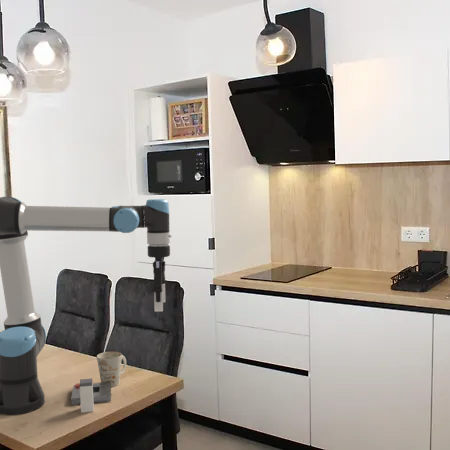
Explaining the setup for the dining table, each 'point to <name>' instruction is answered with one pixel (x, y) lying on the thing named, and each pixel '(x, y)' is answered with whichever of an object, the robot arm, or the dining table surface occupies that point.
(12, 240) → the robot arm
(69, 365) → the dining table surface
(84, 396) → the plug
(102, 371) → the mug
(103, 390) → the socket plate
